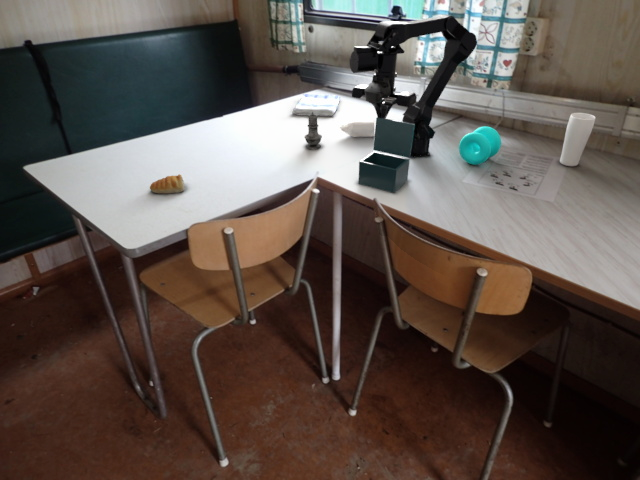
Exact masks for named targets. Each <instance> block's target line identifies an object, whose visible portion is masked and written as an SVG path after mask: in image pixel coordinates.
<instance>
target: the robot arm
mask: <svg viewBox="0 0 640 480" xmlns="http://www.w3.org/2000/svg"><path fill="white" fill-rule="evenodd" d="M437 33H441V35H442V37H443V38H444V39H445V40H446V42H445V45H444V49H443V51H444V52H443V58H442V60H441V61H440V63H439V65H438V67H437V68H436V70H435V72H434V74H433V75H432V77H431V79H430V81H429V82H428V84H427V86H426V88H425V90H424V91H423V92H422V95H421V97H420V98H419V100H418V101H417V99H418V98H417V94H416V92H414V91H413V92H411V91H406V90H404V91H401V92H400V93H396V90H397V88H396V87H395V82H396V78H397V77H398V72H397V61H398V55H399V54H400V55H401V54H405V52H406V51H405V50H404V49H403V48H402V46H401V45H402V44H404V43H405V42H407V41H408V40H410V39H413V38H417V37H422V36H427V35H433V34H437ZM477 45H478V40H477V36H476V35H475V33H473V32H470V30H469V29H467V28H466V27H465V26H464V25H462V24H461V23H460V22H459V21H458V20H457V18H456V17H454V16H453V15H450V14H445V13H444V14H441V15H437V16H433V17H427V18H421V19H416V20H410V21H394V20H392V21H391V20H382V21H380V22H379V23H378V25H377V26H376V28H375V31H374V33H373V35H372V36H371V37H370V39H369V41H368V42H367V44H366V46H360V45H359V46H358V45H357V46H354V47H353V51H352V52H351V54H350V58H349V67H350V70H351V72H352V73H353V74H360V73H373V72H374V71H375V73H374V74H373V75H372V80H371V82H370V83H369V84H363V83H362V84H358V85H356V86H354V87H352V89H351V97H352V98H356V99H362V98H363V97H364V100H365V101H366V102H368V103H369V104H371V105H372V106H373V108H374V110H375V113H376V118H377V117H379V118H384V119H387V117H388V115H389V112H390V111H391V109H392V108H393V106H394V105H395V104H397V106H400V107H406V110H405V111H404V113H402V116H403V117H402V120H401V122H406V123H412V124H415V128H414V135H413V142H412V149H411V156H410V158H420V157H421V158H422V157H430V156H431V153H430V152H429V150H430V142H431V140H432V139H433V138H434V137H435V135H436V131H435V129H433V128H432V127H431V125H430V124H431V122H432V119H433V110H434V108H435V106H436V104H437V102H438V101H439V98H440V97H441V96H442V93H443V92H444V90H445V89H446V87H447V85H448V83H449V82H450V80H451V78H452V77H453V75H454V73H455V71H456V69H457V68H458V66H459V65H460V64H461V63H463V62H464V61H466V60H467V59H468V58H469V57H470V56H471V55H472V53H473V52H474V50H475V49H476V47H477Z"/></svg>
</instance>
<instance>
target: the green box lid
mask: <svg viewBox="0 0 640 480" xmlns="http://www.w3.org/2000/svg"><path fill="white" fill-rule="evenodd" d="M414 128H415V124H412V123H406V122H402V120H401V121H400V120H395V119H389V118H386V119H384V118H379V117H377V116H376V119H375V126H374V136H373V148H372V149H373V151H375V152H379V153H384V154H388V155H393V156H397V157H402V158H407V159H410V158H411V149H412V142H413V135H414Z"/></svg>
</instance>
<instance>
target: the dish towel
mask: <svg viewBox="0 0 640 480" xmlns="http://www.w3.org/2000/svg"><path fill="white" fill-rule="evenodd" d="M340 100H341V96H339V95H334V94H333V95H332V94H308V93H303V94H302V96H301V98H300V100H299V101H298V102H297V103H296V105H295V107H294V108H293V109H292V111H291V113H292V114H294V115H296V116H309V115H311V114H312V112H313V114H314V115H316V116H321V117H322V116H323V117H324V116H326V117H329V116H330V117H331V116H334V114H335V113H336V111H337V109H338V106H339V104H340Z"/></svg>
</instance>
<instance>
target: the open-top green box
mask: <svg viewBox="0 0 640 480" xmlns="http://www.w3.org/2000/svg"><path fill="white" fill-rule="evenodd" d="M409 169H410V158H407V157H403V156H398V155H394V154H389V153H385V152H380V151H376V150H373V151H372V152H371V153H369V154H368V155H366V156H365V157H364V158H362V159H361V160H359V162H358V182H357V183H358V184H359V185H361V186H365V187H370V188H372V189H377V190H382V191H385V192H388V193H393V194H396V193H397V192H398V191H399V190H400V189H401V188H402V187H403V186H404V185H406V183H408V179H409V171H410V170H409Z"/></svg>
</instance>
